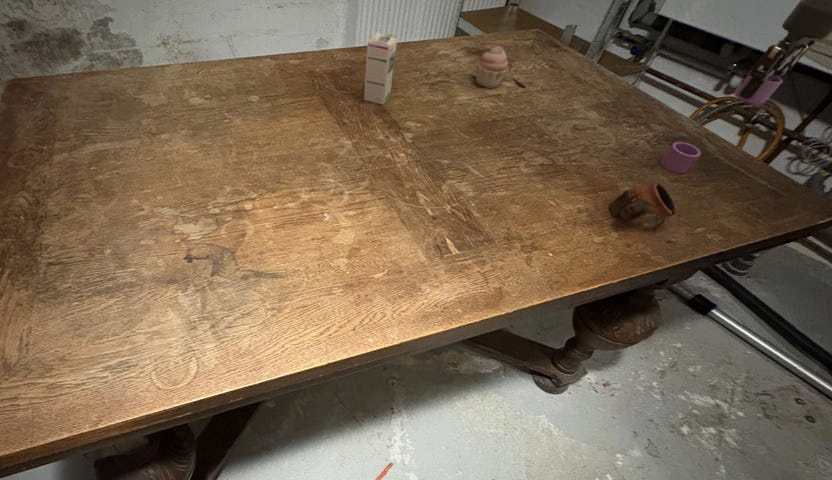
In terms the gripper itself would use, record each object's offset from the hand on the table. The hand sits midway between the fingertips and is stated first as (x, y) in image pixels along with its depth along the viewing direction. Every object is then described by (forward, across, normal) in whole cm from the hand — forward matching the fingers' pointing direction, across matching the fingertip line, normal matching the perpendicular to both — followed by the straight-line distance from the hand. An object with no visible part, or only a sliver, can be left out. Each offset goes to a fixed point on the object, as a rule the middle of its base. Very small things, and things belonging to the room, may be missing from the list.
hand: (752, 93), depth 88 cm
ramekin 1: (+15, -11, 0) cm, 19 cm away
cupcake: (+15, -25, +50) cm, 58 cm away
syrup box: (+15, -59, +56) cm, 82 cm away
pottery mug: (+15, -37, -7) cm, 41 cm away
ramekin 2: (+1, 0, 0) cm, 1 cm away
